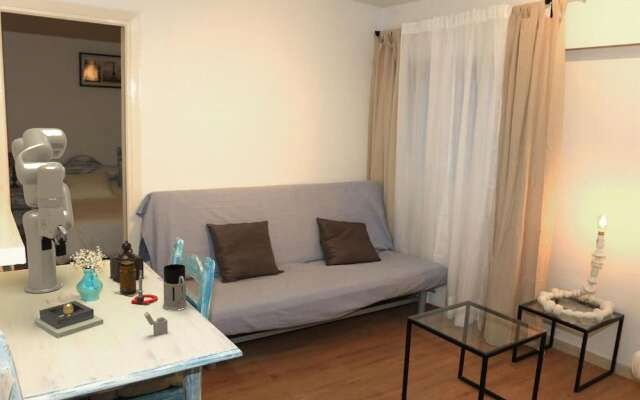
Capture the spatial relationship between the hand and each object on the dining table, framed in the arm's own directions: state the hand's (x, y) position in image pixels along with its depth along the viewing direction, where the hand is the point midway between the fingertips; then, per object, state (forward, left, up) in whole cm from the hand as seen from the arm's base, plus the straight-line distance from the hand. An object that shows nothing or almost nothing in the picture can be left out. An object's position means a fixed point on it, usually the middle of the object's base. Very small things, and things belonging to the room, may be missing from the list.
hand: (53, 252), depth 169 cm
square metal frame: (+7, 0, -21) cm, 22 cm away
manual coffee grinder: (-17, +38, -23) cm, 48 cm away
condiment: (-4, +30, -23) cm, 38 cm away
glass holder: (+24, +32, -23) cm, 46 cm away
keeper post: (+8, 0, -21) cm, 23 cm away
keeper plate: (+8, 0, -23) cm, 24 cm away
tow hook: (+8, +29, -23) cm, 38 cm away
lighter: (+36, +14, -23) cm, 45 cm away
